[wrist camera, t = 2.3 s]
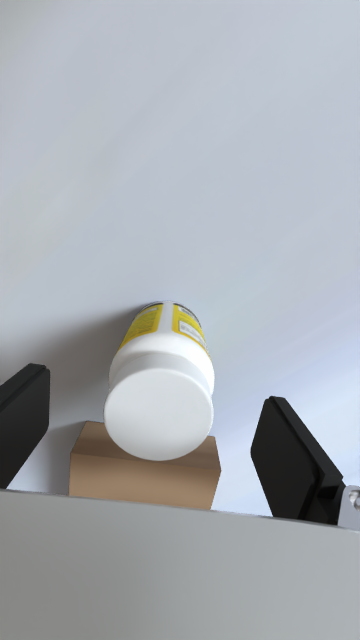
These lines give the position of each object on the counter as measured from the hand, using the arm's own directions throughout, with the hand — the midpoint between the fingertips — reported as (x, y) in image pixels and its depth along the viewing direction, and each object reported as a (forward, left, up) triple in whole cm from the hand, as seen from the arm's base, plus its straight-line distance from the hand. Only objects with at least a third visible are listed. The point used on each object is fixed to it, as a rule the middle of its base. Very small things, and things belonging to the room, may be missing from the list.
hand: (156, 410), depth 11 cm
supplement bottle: (-1, 0, -7) cm, 7 cm away
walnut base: (+13, 0, -7) cm, 15 cm away
